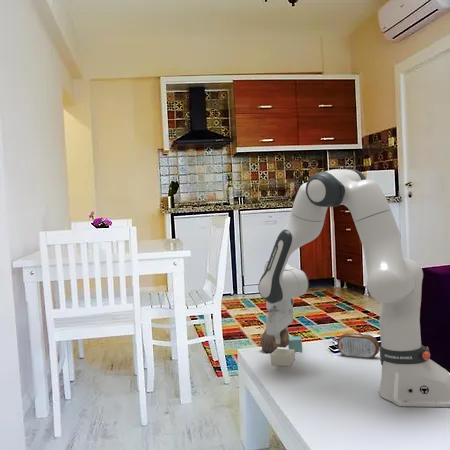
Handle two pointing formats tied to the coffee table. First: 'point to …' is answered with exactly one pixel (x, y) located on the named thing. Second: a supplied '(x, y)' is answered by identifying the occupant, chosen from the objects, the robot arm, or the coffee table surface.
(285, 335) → the walnut block
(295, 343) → the teal cube
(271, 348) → the vase
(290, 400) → the coffee table surface
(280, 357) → the limestone block
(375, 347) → the tin
